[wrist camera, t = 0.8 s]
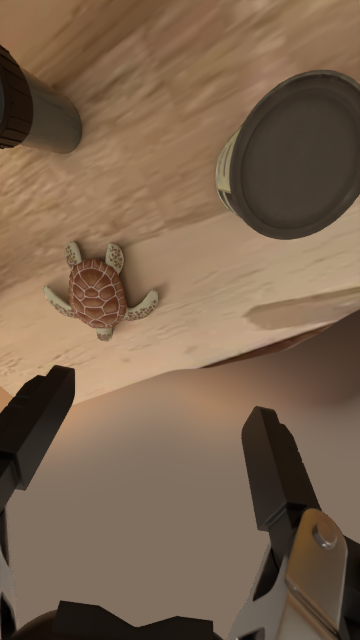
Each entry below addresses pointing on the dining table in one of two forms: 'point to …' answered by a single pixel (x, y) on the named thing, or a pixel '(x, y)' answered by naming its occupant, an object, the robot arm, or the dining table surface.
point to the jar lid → (13, 102)
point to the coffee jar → (51, 119)
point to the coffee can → (295, 157)
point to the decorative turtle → (98, 292)
